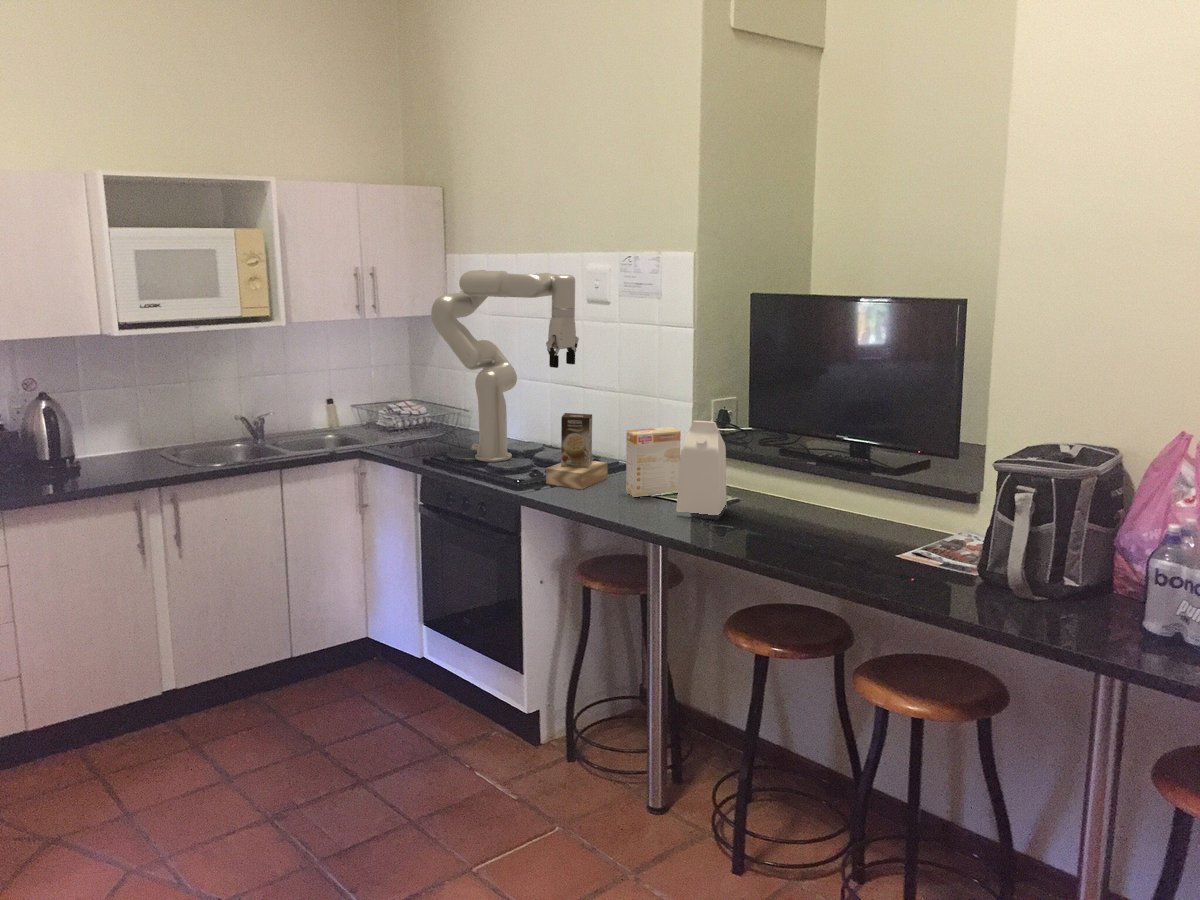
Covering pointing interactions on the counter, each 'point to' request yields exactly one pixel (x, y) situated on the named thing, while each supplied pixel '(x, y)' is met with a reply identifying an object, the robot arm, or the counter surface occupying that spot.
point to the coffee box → (576, 440)
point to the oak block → (576, 475)
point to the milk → (702, 470)
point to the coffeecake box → (652, 461)
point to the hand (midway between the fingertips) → (562, 365)
